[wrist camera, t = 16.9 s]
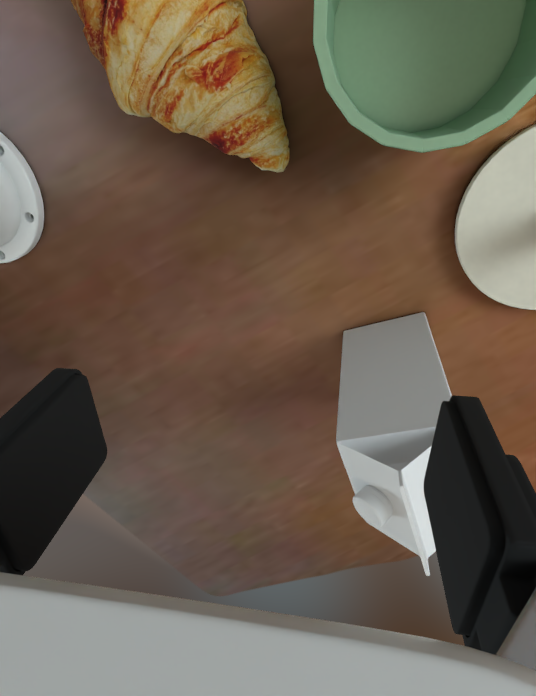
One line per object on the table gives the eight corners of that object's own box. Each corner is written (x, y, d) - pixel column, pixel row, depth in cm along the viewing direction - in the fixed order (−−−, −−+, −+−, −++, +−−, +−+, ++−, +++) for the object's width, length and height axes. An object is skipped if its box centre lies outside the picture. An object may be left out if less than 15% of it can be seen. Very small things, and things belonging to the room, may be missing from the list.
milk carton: (424, 310, 36) (479, 477, 19) (439, 378, 39) (498, 573, 22) (342, 329, 38) (331, 494, 22) (362, 392, 41) (365, 579, 25)
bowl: (319, 143, 31) (309, 153, 25) (328, -98, 25) (318, -170, 18) (503, 142, 29) (545, 152, 22) (564, -122, 23) (647, -214, 16)
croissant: (319, 131, 34) (356, 88, 26) (236, 225, 34) (247, 211, 26) (102, -110, 28) (66, -253, 21) (5, 3, 29) (-66, -97, 21)
